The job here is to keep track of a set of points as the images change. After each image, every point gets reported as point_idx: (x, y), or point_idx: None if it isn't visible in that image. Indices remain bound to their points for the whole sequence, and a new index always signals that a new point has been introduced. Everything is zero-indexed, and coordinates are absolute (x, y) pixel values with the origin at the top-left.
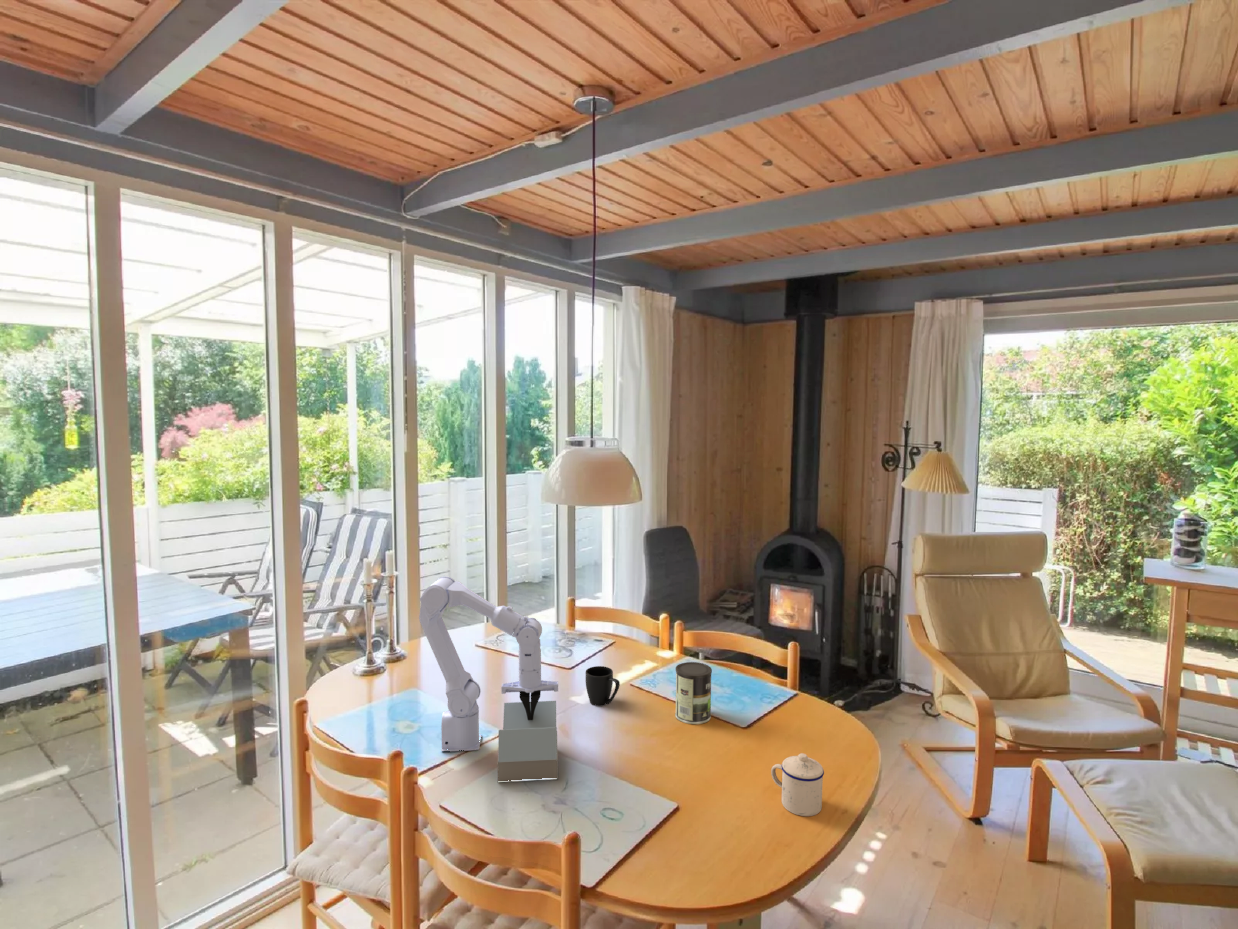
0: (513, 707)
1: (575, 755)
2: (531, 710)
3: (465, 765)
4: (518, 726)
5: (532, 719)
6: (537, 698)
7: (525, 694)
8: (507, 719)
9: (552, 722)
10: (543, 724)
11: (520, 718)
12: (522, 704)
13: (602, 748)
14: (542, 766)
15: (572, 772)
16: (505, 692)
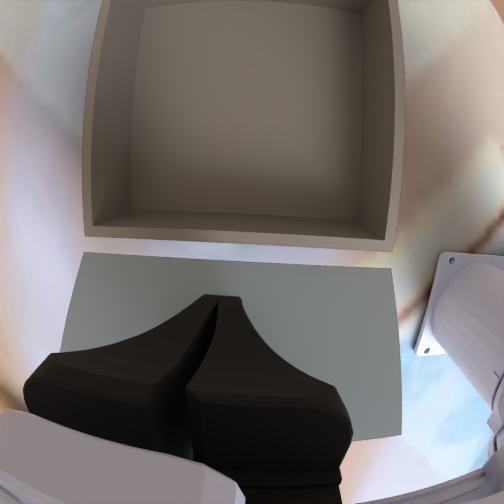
0: None
1: (66, 165)
2: (196, 320)
3: (476, 158)
4: (303, 282)
5: (204, 294)
6: (63, 360)
7: (249, 473)
8: (375, 328)
9: (93, 282)
10: (144, 277)
11: (292, 330)
12: None
13: (3, 209)
14: None
15: (87, 53)
16: (501, 458)
